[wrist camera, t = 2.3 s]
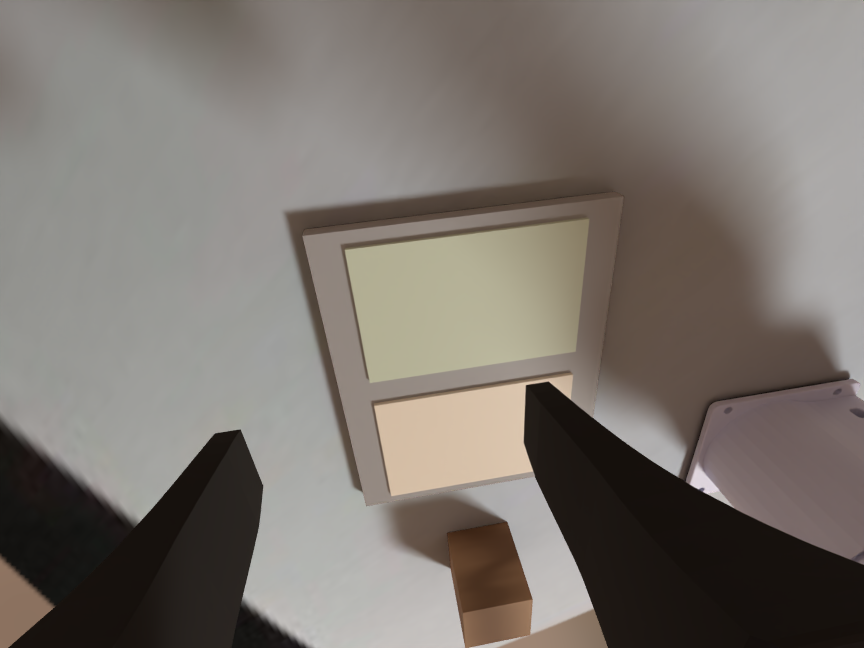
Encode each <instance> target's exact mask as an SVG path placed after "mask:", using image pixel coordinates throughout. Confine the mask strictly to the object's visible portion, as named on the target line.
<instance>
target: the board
mask: <svg viewBox="0 0 864 648" xmlns="http://www.w3.org/2000/svg"><path fill="white" fill-rule="evenodd" d="M623 201H624V196H622V195H620V194H618V193H616V192H607V193H599V194H590V195H582V196H574V197H566V198H558V199H549V200H541V201H533V202H525V203H517V204H508V205H500V206H492V207H484V208H476V209H467V210H459V211H451V212H443V213H435V214H426V215H418V216H410V217H402V218H394V219H385V220H377V221H369V222H361V223H353V224H344V225H336V226H328V227H320V228H312V229H304V232H303V241H304V245H305V249H306V253H307V258H308V262H309V266H310V270H311V275H312V279H313V283H314V287H315V291H316V296H317V300H318V304H319V308H320V313H321V317H322V321H323V325H324V330H325V334H326V338H327V342H328V346H329V351H330V355H331V359H332V363H333V368H334V372H335V376H336V380H337V385H338V389H339V393H340V397H341V402H342V406H343V410H344V414H345V418H346V423H347V427H348V431H349V435H350V440H351V444H352V448H353V452H354V457H355V461H356V465H357V469H358V473H359V478H360V482H361V486H362V490H363V495H364V499H365V503H366V506H370V505H376V504H381V503H387V502H393V501H398V500H404V499H410V498H415V497H421V496H427V495H432V494H438V493H444V492H449V491H455V490H461V489H466V488H472V487H478V486H483V485H489V484H495V483H500V482H506V481H512V480H517V479H523V478H529V477H535V475H534V472H533V469H532V466H531V464H530V461H529V458H528V455H527V451H526V448H525V445H524V417H525V392H526V385H529V384H536V383H542V382H548V381H549V382H550V383H551V384H552V385H554V386H555V387H556V388H557V389H558V390H560V391H561V392H562V393H563V394H564V395H566V396H567V397H568V398H569V399H570V400H572V401H573V402H574V403H575V404H576V405H578V406H579V407H580V408H581V409H582V410H584V411H585V412H586V413H587V414H589V415H590V416H591V417H592V418H593V414H594V407H595V400H596V393H597V386H598V379H599V371H600V364H601V357H602V350H603V343H604V336H605V329H606V322H607V315H608V308H609V300H610V293H611V286H612V279H613V272H614V265H615V258H616V251H617V244H618V237H619V229H620V222H621V215H622V208H623Z"/></svg>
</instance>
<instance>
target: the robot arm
mask: <svg viewBox="0 0 864 648" xmlns="http://www.w3.org/2000/svg"><path fill="white" fill-rule="evenodd" d="M859 388H860V383H859V382H857V381H855V380H854V379H848V380H842V381H837V382H831V383H825V384H819V385H813V386H807V387H801V388H795V389H789V390H783V391H777V392H771V393H765V394H759V395H753V396H747V397H741V398H735V399H729V400H723V401H717V402H714V403H713V404H711V405H710V407H709V408H708V412H707V415H706V418H705V421H704V424H703V428H702V431H701V434H700V437H699V440H698V444H697V447H696V450H695V453H694V456H693V460H692V463H691V466H690V469H689V472H688V476H687V479H686V482H685V481H683V480H682V479H680V478H678V477H677V476H675V475H673V474H672V473H670V472H668V471H667V470H665V469H663V468H662V467H660V466H659V465H657V464H656V463H654V462H652V461H651V460H649V459H648V458H646V457H645V456H644V455H642V454H641V453H639V452H638V451H636V450H635V449H633V448H632V447H631V446H629V445H628V444H626V443H625V442H624V441H622V440H621V439H619V438H618V437H617V436H615V435H614V434H613V433H612V432H610V431H609V430H608V429H606V428H605V427H604V426H602V425H601V424H600V423H599V422H597V421H596V420H595V419H594V418H592V417H591V416H590V415H589V414H587V413H586V412H585V411H584V410H582V409H581V408H580V407H579V406H578V405H576V404H575V403H574V402H573V401H572V400H570V399H569V398H568V397H567V396H566V395H564V394H563V393H562V392H561V391H560V390H558V389H557V388H556V387H555V386H554V385H552V384H551V383H550V382H549V381H548V382H542V383H536V384H529V385H526V392H525V417H524V445H525V448H526V451H527V455H528V458H529V461H530V464H531V466H532V469H533V472H534V475H535V478H536V480H537V482H538V484H539V486H540V489H541V491H542V493H543V495H544V497H545V499H546V501H547V503H548V505H549V508H550V510H551V512H552V514H553V516H554V518H555V520H556V522H557V524H558V526H559V528H560V530H561V532H562V534H563V537H564V539H565V541H566V543H567V545H568V547H569V549H570V551H571V553H572V555H573V557H574V559H575V562H576V564H577V566H578V569H579V571H580V573H581V576H582V578H583V581H584V583H585V586H586V589H587V591H588V594H589V597H590V599H591V602H592V605H593V607H594V610H595V612H596V615H597V618H598V621H599V623H600V626H601V629H602V632H603V635H604V638H605V640H606V643H607V646H608V648H864V401H863V400H861V399H860V398H858V397H857V396H856V394H857V392H858V390H859ZM718 491H720V492H721V493H722V494H723V495H724V496H725V498H726V499H727V500H728V501H729V502H730V503H731V505H732V506H733V507H734V508H735V509H734V508H733V507H731V506H729V505H727V504H725V503H723V502H721V501H719V500H717V499H715V498H713V497H711V496H709V495H708V494H707V493H713V492H718ZM262 493H263V484H262V482H261V479H260V477H259V474H258V472H257V469H256V467H255V464H254V462H253V459H252V457H251V454H250V452H249V449H248V447H247V444H246V442H245V439H244V437H243V434H242V432H241V430H234V431H228V432H221V433H215V434H214V435H213V437H212V438H211V439H210V440H209V441H208V442H207V444H206V445H205V446H204V447H203V448H202V450H201V451H200V452H199V453H198V455H197V456H196V457H195V458H194V459H193V461H192V462H191V463H190V464H189V465H188V467H187V468H186V469H185V470H184V472H183V473H182V474H181V475H180V476H179V478H178V479H177V480H176V481H175V482H174V484H173V485H172V486H171V487H170V488H169V490H168V491H167V492H166V493H165V494H164V495H163V497H162V498H161V499H160V500H159V501H158V502H157V504H156V505H155V506H154V507H153V508H152V509H151V511H150V512H149V513H148V514H147V515H146V516H145V517H144V518H143V519H142V520H141V521H140V523H139V524H138V525H137V526H136V527H135V528H134V529H133V530H132V531H131V532H130V533H129V535H128V536H127V537H126V538H125V539H124V540H123V541H122V542H121V543H120V544H119V546H118V547H117V548H116V549H115V550H114V551H113V552H112V553H111V554H110V555H109V556H108V557H107V558H106V559H105V560H104V561H103V562H102V563H101V564H100V565H99V566H98V567H97V568H96V569H95V570H94V571H93V572H92V573H91V574H90V575H89V576H88V577H87V578H86V579H85V580H84V581H82V582H81V583H80V584H79V585H78V586H77V587H76V588H75V589H74V590H73V591H72V592H71V593H70V594H69V595H68V596H67V597H66V598H64V599H63V600H62V601H61V602H60V603H59V604H58V605H57V606H56V607H55V608H53V609H52V610H51V611H50V612H49V613H48V614H46V615H45V616H44V617H43V618H42V619H41V620H40V621H38V622H37V623H36V624H35V625H34V626H33V627H32V628H30V629H29V630H28V631H27V632H26V633H25V634H24V635H22V636H21V637H20V638H19V639H18V640H17V641H16V642H14V643H13V644H12V645H11V646H10V647H9V648H232V642H233V637H234V632H235V627H236V622H237V618H238V614H239V609H240V605H241V601H242V597H243V593H244V588H245V584H246V580H247V576H248V572H249V567H250V563H251V559H252V555H253V550H254V546H255V542H256V537H257V533H258V528H259V521H260V513H261V504H262Z"/></svg>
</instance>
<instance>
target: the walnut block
mask: <svg viewBox="0 0 864 648" xmlns="http://www.w3.org/2000/svg"><path fill="white" fill-rule="evenodd" d="M447 536H448V546H449V557H450V567H451V573H452V578H453V584H454V589H455V595H456V600H457V605H458V611H459V616H460V621H461V627H462V632H463V638H464V643H465V648H469V647H474V646H479V645H484V644H488V643H493V642H498V641H503V640H508V639H513V638H518V637H523V636H527V635H530V629H531V615H532V601H533V599H532V596H531V593H530V590H529V587H528V584H527V581H526V578H525V575H524V572H523V568H522V565H521V562H520V559H519V556H518V553H517V550H516V547H515V544H514V541H513V538H512V535H511V532H510V529H509V526H508V523H507V522H503V523H498V524H492V525H487V526H482V527H476V528H471V529H465V530H460V531H454V532H449V533H447Z"/></svg>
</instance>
